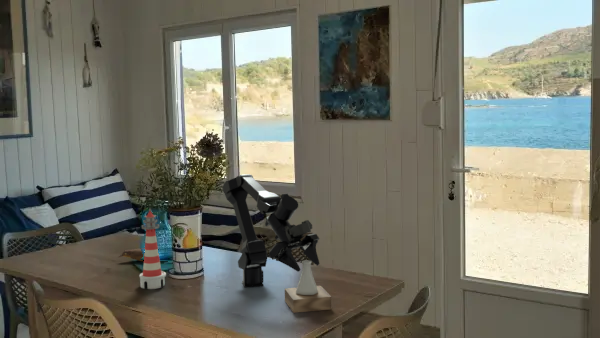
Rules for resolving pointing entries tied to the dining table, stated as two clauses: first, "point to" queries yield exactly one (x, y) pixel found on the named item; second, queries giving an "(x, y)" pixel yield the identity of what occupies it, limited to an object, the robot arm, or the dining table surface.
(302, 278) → the flask
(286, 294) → the light brown square board
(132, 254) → the bird sculpture
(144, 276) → the miniature lighthouse
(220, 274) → the dining table surface
